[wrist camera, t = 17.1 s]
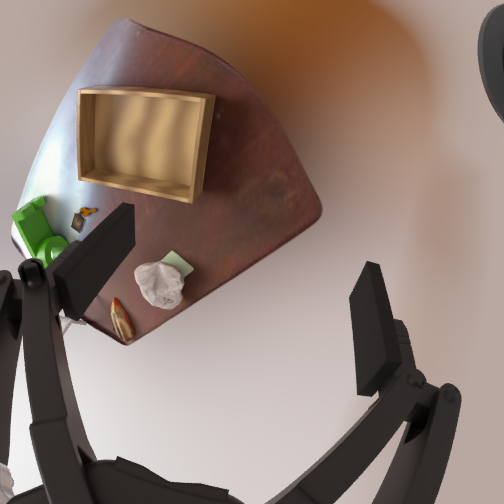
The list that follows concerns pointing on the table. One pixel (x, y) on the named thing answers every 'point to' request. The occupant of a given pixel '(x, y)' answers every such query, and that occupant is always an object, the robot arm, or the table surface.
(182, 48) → the table surface
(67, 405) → the robot arm
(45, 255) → the green bracket part
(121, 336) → the decorative stone
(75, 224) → the key tag
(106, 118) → the tray
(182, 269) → the mat
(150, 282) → the fossil
